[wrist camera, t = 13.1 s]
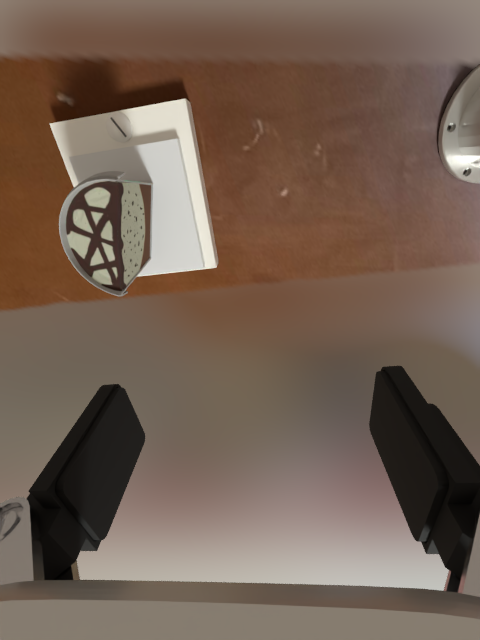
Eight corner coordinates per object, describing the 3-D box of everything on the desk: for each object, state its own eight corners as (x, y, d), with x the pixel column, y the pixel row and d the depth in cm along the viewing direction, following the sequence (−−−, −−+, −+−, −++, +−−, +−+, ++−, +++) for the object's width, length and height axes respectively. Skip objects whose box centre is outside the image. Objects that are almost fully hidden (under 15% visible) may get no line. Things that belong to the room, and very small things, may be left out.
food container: (100, 158, 32) (42, 157, 24) (153, 169, 33) (115, 173, 24) (106, 260, 38) (62, 290, 30) (151, 269, 39) (120, 300, 30)
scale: (190, 102, 32) (182, 96, 29) (218, 262, 41) (215, 270, 38) (62, 125, 34) (42, 122, 31) (116, 273, 43) (105, 282, 40)
